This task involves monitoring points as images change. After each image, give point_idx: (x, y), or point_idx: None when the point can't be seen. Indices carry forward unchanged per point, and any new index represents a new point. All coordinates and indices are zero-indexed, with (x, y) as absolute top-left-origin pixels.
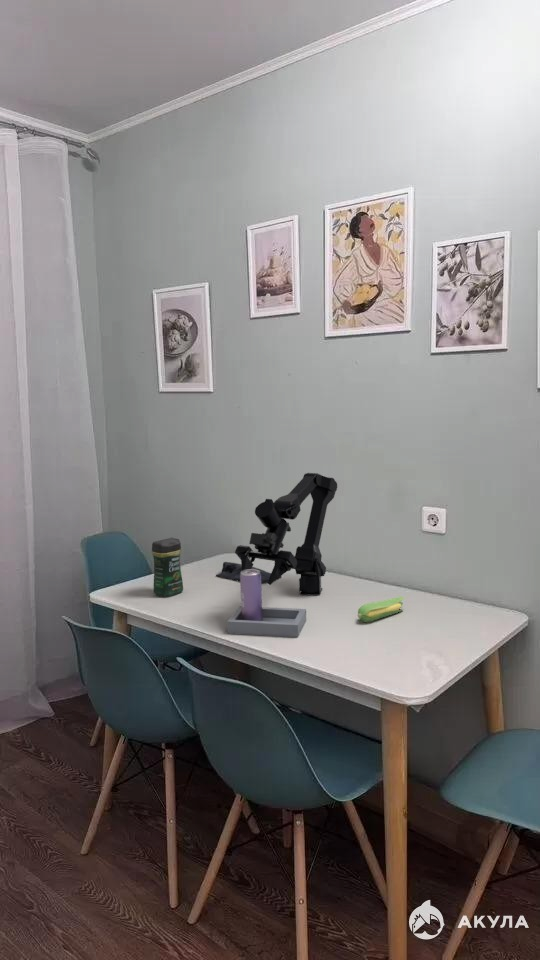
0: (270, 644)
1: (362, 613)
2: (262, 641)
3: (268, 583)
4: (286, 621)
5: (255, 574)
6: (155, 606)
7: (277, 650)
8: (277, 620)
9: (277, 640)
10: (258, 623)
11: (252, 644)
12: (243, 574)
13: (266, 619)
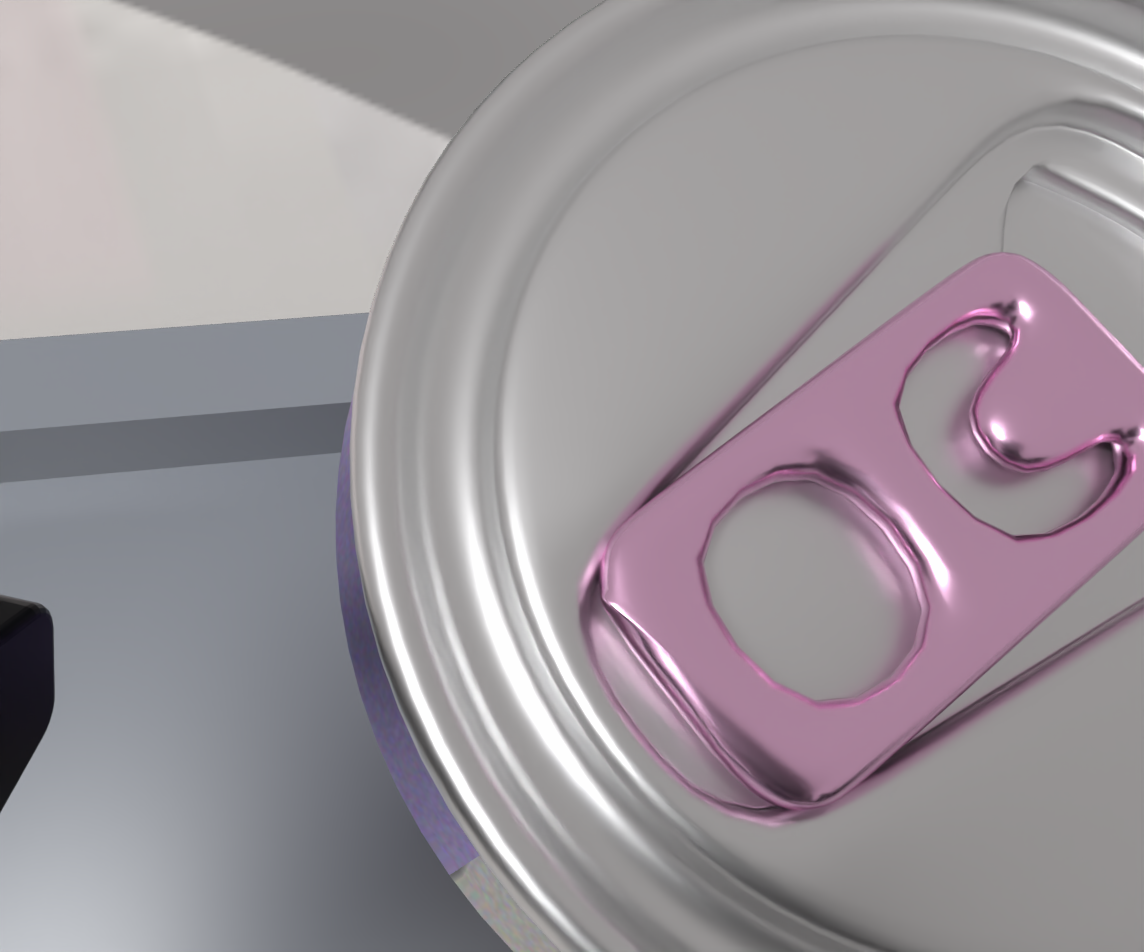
0: (136, 151)
1: None
2: (265, 214)
3: (22, 607)
4: (35, 904)
5: (500, 100)
6: None
7: (6, 14)
8: (209, 906)
9: (73, 282)
10: (358, 317)
11: (361, 110)
12: None
13: (418, 906)
